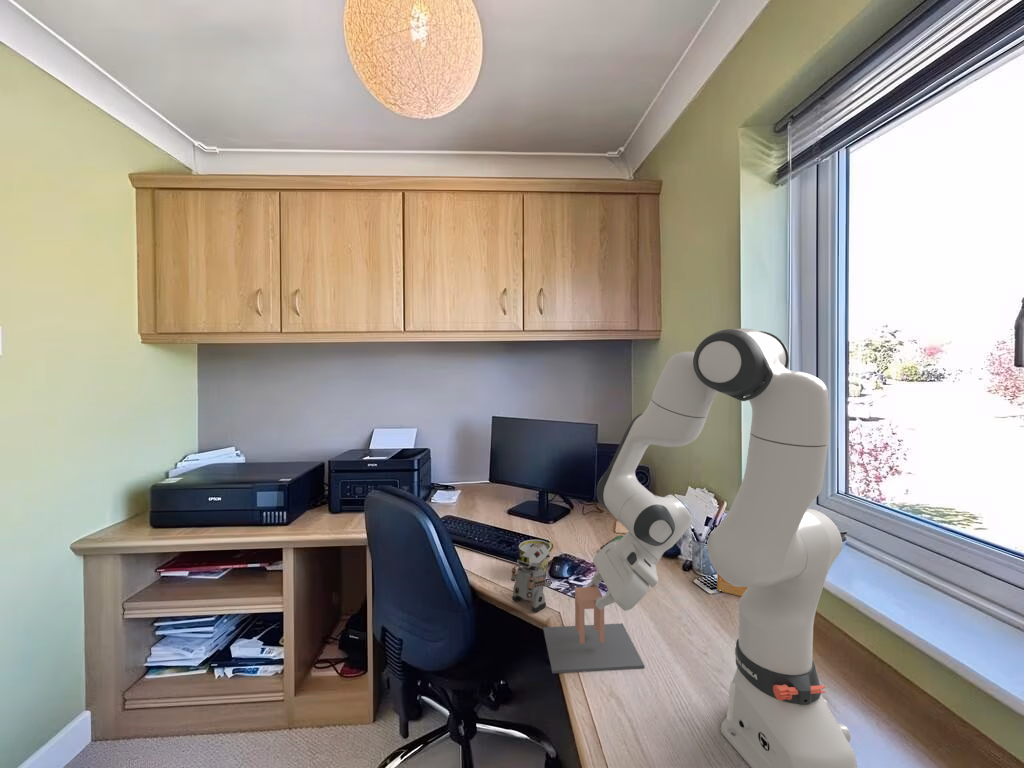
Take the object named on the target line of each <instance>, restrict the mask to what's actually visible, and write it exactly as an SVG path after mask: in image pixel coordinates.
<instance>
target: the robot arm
mask: <svg viewBox="0 0 1024 768" xmlns="http://www.w3.org/2000/svg"><path fill="white" fill-rule="evenodd" d="M789 365H790V353H789V350H788V348H787V345H786V344H785V342H783V341H782V339H780V338H779V337H778V336H776V335H774V334H773V333H770V332H766V331H762V330H757V329H752V328H731V329H727V328H726V329H723V330H719V331H716V332H714V333H711V334H710V335H708V336H706V338H704V339H703V340H702V341H701V342H700V343H699V345H698V346H697V347H696V349H695V351H681V352H677V353H675V354H673V355H671V357H670V358H669V359H668V360H667V362H666V364H665V366H664V368H663V370H662V372H661V373H660V375H659V378H658V379H657V382H656V384H655V387H654V389H653V393H652V396H651V397H650V402H649V404H648V405H647V407H646V409H645V410H644V412H642V413H639V414H637V415H635V417H634V418H633V419H632V420H631V422H630V423H629V424H628V427H627V428H626V431H625V432H624V435H623V436H622V437H621V441H620V443H619V445H618V447H617V449H616V451H615V453H614V456H613V457H612V459H611V461H610V464H609V466H608V467H607V469H606V470H605V472H604V473H603V475H602V476H601V478H600V479H599V481H598V483H597V486H596V498H597V501H598V503H599V504H600V505H601V506H602V507H604V508H605V509H606V510H607V511H608V512H609V513H610V514H612V516H613V517H615V519H616V520H617V521H618V522H619V523H620V525H622V526H624V527H625V529H626V530H627V532H626V533H625V534H624V535H623V536H624V537H623V538H622V539H620V540H615V541H614V542H610V543H608V542H607V543H608V544H607V543H606V544H607V545H606V546H605V547H604V548H602V549H601V550H600V549H599V551H598V552H597V553H595V555H594V557H593V558H592V562H593V564H594V566H595V568H596V571H595V572H594V574H593V575H592V578H591V579H590V581H589V583H587V585H586V587H598V588H599V585H600V583H601V582H604V584H605V586H606V588H607V591H606V592H605V593H604V594H605V595H602V596H603V597H601V598H600V597H598V598H597V599H596V600H595V601H594V603H595V605H596V607H597V608H598V609H599V610H602V609H603V608H604V609H605V607H606V606H609V605H612V604H614V603H616V605H617V606H619V608H621V609H622V611H625V612H626V611H630V610H631V609H633V608H634V607H635V606H636V605H637V604H638V603H639V602H640V601H641V600H642V599H643V598H644V597H645V596H646V594H647V593H648V592H649V589H650V587H651V588H655V586H656V585H658V582H659V577H658V572H657V566H656V564H658V562H659V561H660V560H661V559H662V556H663V555H664V553H665V552H667V551H668V550H669V549H672V548H673V547H674V545H675V544H677V543H678V542H679V540H680V539H681V538H682V537H683V535H684V534H685V533H686V531H687V530H688V529H689V527H690V525H691V524H692V521H693V516H692V513H691V511H690V510H689V508H688V507H687V506H686V505H685V503H683V501H682V500H680V498H678V497H677V496H675V495H673V494H667V495H665V496H660V495H659V496H658V495H656V494H654V493H653V492H651V491H650V490H648V488H646V487H645V486H644V485H642V483H641V482H639V480H638V477H637V476H636V470H637V468H638V466H639V464H640V462H641V460H642V458H643V456H644V455H645V453H646V450H647V448H648V447H650V445H652V446H659V447H663V448H664V447H666V448H678V447H684V446H687V445H690V444H691V443H693V442H694V441H696V440H697V438H698V437H699V436H700V434H701V432H702V431H703V429H704V426H705V424H706V421H707V419H708V415H709V412H710V409H711V407H712V404H713V402H714V400H715V397H716V396H717V395H718V394H719V393H722V394H724V395H727V396H729V397H731V398H734V399H735V400H738V401H740V402H748V401H749V404H750V406H751V410H752V411H751V425H750V431H749V432H750V433H749V441H748V449H747V457H746V464H745V465H746V466H745V471H744V475H743V479H742V480H741V481H742V482H741V484H740V486H739V489H738V491H737V494H736V496H735V498H734V500H733V501H732V502H733V503H732V504H731V507H730V508H729V510H728V512H727V514H726V515H725V517H724V518H723V519H722V520H721V522H720V523H719V524H718V525H717V526H716V527H715V528H714V529H713V530H712V531H711V532H710V534H709V536H708V538H707V554H708V558H709V561H710V563H711V565H712V567H713V569H714V570H715V571H716V573H718V574H719V575H720V576H721V577H722V578H723V579H724V580H725V581H727V582H728V583H730V584H732V585H734V586H738V587H748V588H747V589H746V591H745V592H744V593H743V595H742V596H740V600H739V602H738V638H737V640H736V642H735V643H736V644H735V649H734V656H735V664H736V671H735V674H734V676H733V678H732V680H731V683H730V686H729V690H728V692H729V693H728V702H727V709H726V710H727V711H726V718H724V719H723V721H722V722H721V726H720V732H721V734H722V735H723V736H724V738H725V739H726V740H727V741H728V743H730V744H731V746H732V747H733V748H734V749H735V750H736V752H737V753H738V754H739V755H740V756H741V757H742V758H743V759H744V761H745V762H746V763H747V764H748V765H749V766H750V767H751V768H858V765H857V760H856V759H857V758H856V754H855V753H854V752H855V751H854V750H853V748H852V746H851V744H850V742H851V734H850V731H849V729H848V727H847V726H846V725H845V724H843V723H838V722H837V720H836V718H835V716H834V715H833V712H832V711H831V709H830V707H829V703H828V701H827V700H826V699H824V697H823V695H822V694H824V693H826V690H823V689H825V688H826V685H825V684H820V680H819V674H818V670H817V668H816V665H815V662H814V660H813V651H814V650H813V649H814V648H813V644H814V643H813V642H814V623H815V616H816V613H817V612H816V611H817V608H818V606H819V601H820V598H821V595H822V591H823V588H824V585H825V583H826V579H827V577H828V574H829V571H830V569H831V567H832V566H833V564H834V562H835V561H836V559H837V558H838V557H839V555H840V554H841V552H842V549H843V539H842V534H841V532H840V530H839V528H838V527H837V525H836V524H835V523H834V521H832V519H831V518H830V517H828V516H827V515H826V514H824V513H823V512H822V511H819V510H817V509H813V508H809V507H810V506H811V504H812V503H813V502H814V500H815V499H817V497H818V496H819V495H820V493H821V492H822V489H823V487H824V479H825V477H824V476H825V470H826V466H827V465H826V464H827V463H826V462H827V457H828V449H829V441H830V429H831V427H830V426H831V410H830V408H831V407H830V398H829V391H828V387H827V384H826V383H825V382H824V381H822V380H821V379H820V378H818V377H817V376H815V375H812V374H810V373H807V372H803V371H799V370H797V371H796V370H791V369H788V368H789Z"/></svg>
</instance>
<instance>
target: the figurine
mask: <svg viewBox="0 0 1024 768" xmlns="http://www.w3.org/2000/svg"><path fill="white" fill-rule="evenodd" d="M530 547H531V548H530V549H529V550H527V551H526V552H525V553H524V554H523V555H522V556H521V557H520V556H519V558H518V559H517V560H516V562H517V564H518V565H514V567H513V568H512V570H511V579H510V580H511V582H514V584H513V585H514V586H513V589H512V590H513V592H512V598H511V599H512V600H511V601H514V602H516V603H517V602H518V601H520V599H523V600H526V601H532V607H531V611H532V612H534V613H536V614H537V613H538V612H540V610H543V609H545V608H546V606H547V604H546V600H545V598H546V597H545V593H544V587H545V588H547V587H548V588H551V585H552V577H549V578H550V579H549V580H548V581H546V578H547V572H546V573H545V572H544V571H543V570H540V566H541V563H542V562H543V561H544V560H545V559H546V558H547V557H549V559H550V558H551V556H549V554H550V555H551V552H549V551H548V549H547V548H546V547H545V545H544V544H540V543H535V544H534V543H533V544H532V545H531V546H530ZM522 566H523V567H522ZM516 567H517V571H516ZM516 572H517V573H516Z"/></svg>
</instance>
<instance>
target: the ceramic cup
mask: <svg viewBox="0 0 1024 768" xmlns="http://www.w3.org/2000/svg"><path fill="white" fill-rule="evenodd" d="M533 543H534V544H535V543H540V544H544V545H545V547H546V548H547V549H548V551H549V552H550V554H549V556H550V555H551V553H552V551H553V550H554V543H553V542H552V541H545V540H542V539H528V540H523V541H521V542H520V543H519V544H518V552H519V558H520V557H521V556H522V555H523V554H524V553H525V552H526V551H527V550H529V549H530V548H531V547H530V546H531V545H532V544H533ZM550 557H551V556H550ZM549 560H550V558H549V557H547V558H546V559H545V560H544V561H543V562H542V563H541V566H540V570H543V571H544V572H545V573H546V574H547V570H548V564H549ZM521 567H523V566H521Z"/></svg>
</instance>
